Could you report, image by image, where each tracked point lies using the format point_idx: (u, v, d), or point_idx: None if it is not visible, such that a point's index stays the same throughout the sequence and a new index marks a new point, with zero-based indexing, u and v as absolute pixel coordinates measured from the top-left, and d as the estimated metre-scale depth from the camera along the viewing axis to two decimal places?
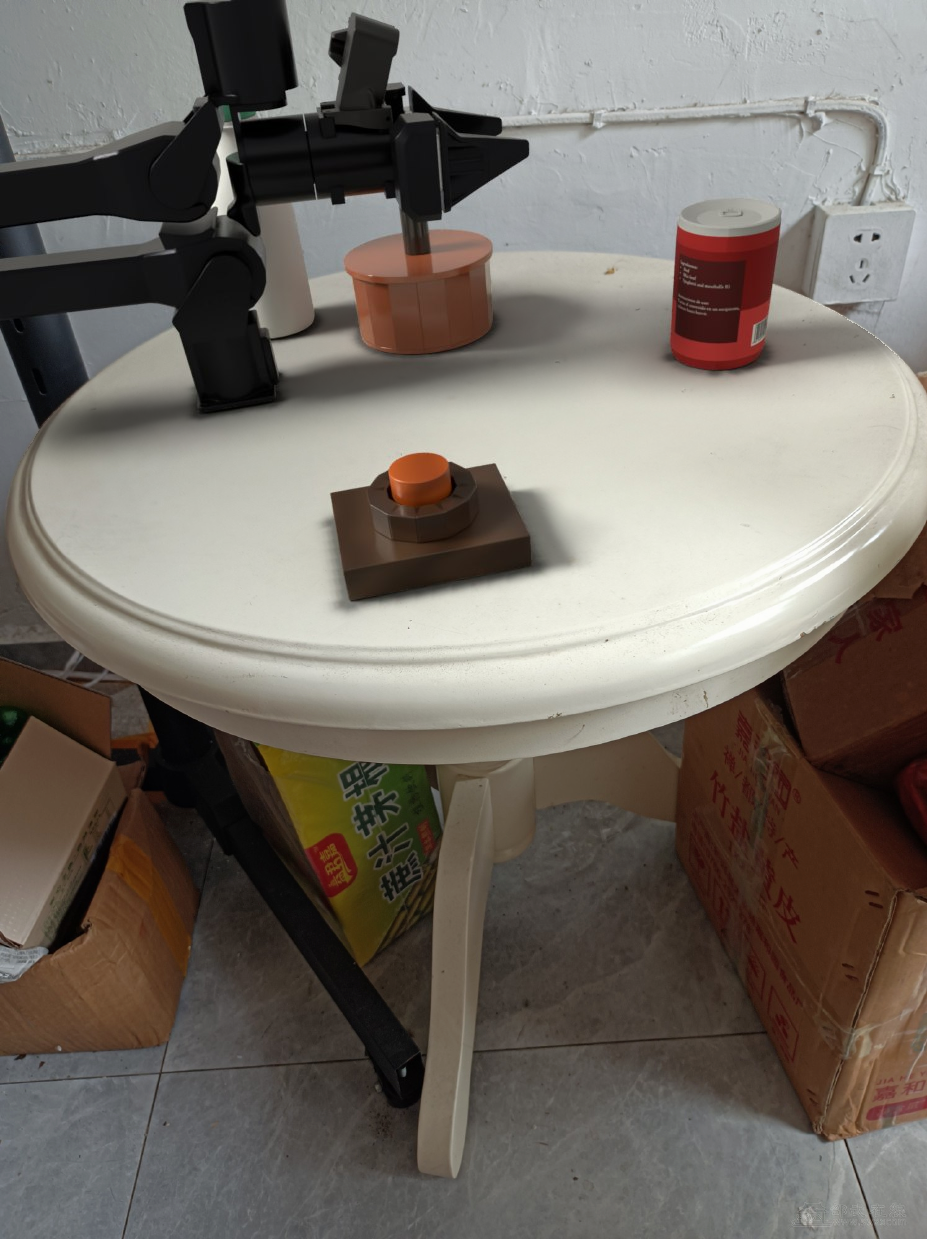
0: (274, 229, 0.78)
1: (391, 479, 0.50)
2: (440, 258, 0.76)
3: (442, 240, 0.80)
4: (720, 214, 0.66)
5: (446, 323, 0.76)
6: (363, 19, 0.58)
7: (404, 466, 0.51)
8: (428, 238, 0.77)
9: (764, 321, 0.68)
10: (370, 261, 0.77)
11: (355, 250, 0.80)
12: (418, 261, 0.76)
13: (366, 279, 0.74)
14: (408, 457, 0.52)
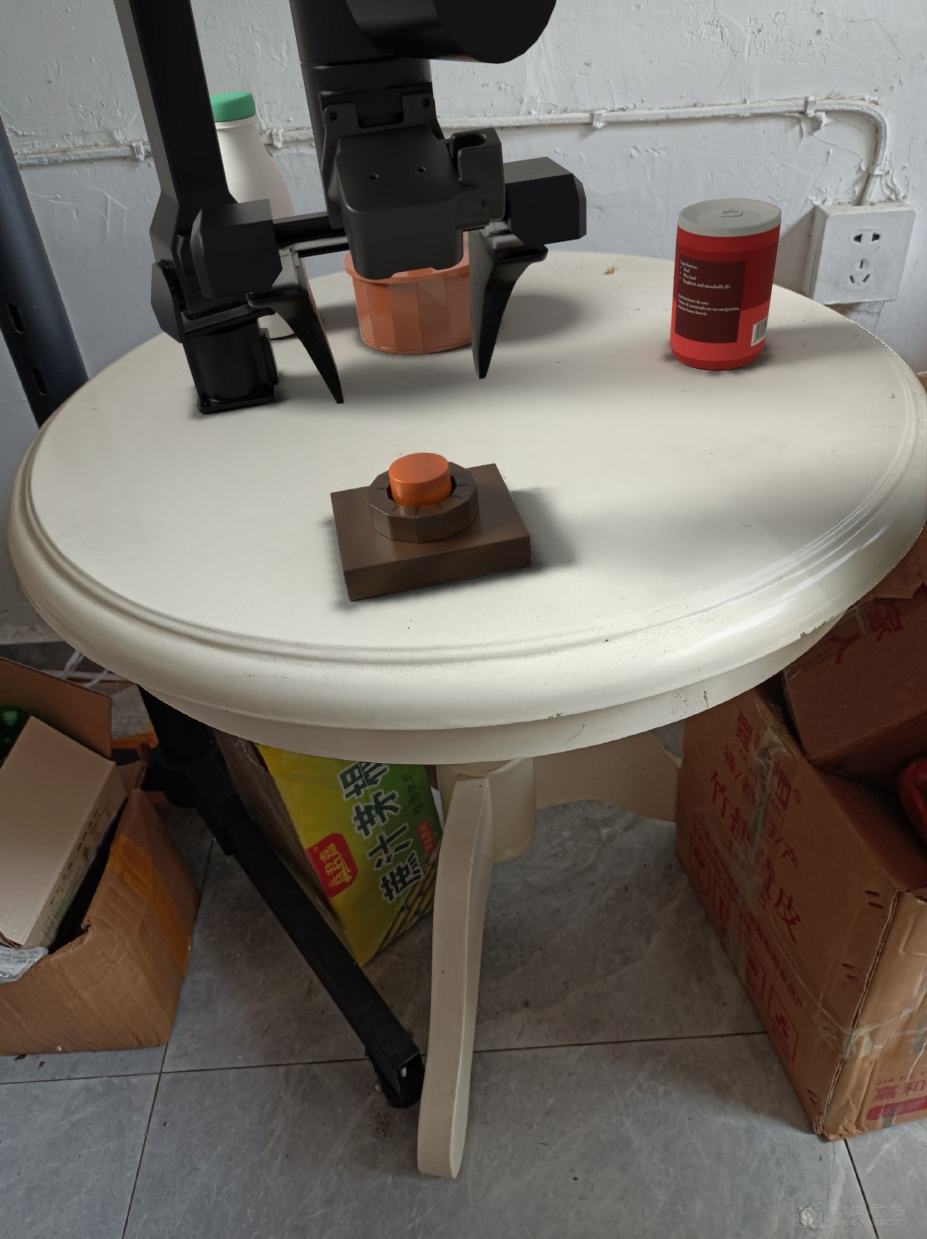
0: None
1: (391, 479, 0.50)
2: None
3: None
4: (720, 214, 0.66)
5: (446, 323, 0.76)
6: (366, 226, 0.34)
7: (404, 466, 0.51)
8: None
9: (764, 321, 0.68)
10: None
11: None
12: None
13: (366, 279, 0.74)
14: (408, 457, 0.52)
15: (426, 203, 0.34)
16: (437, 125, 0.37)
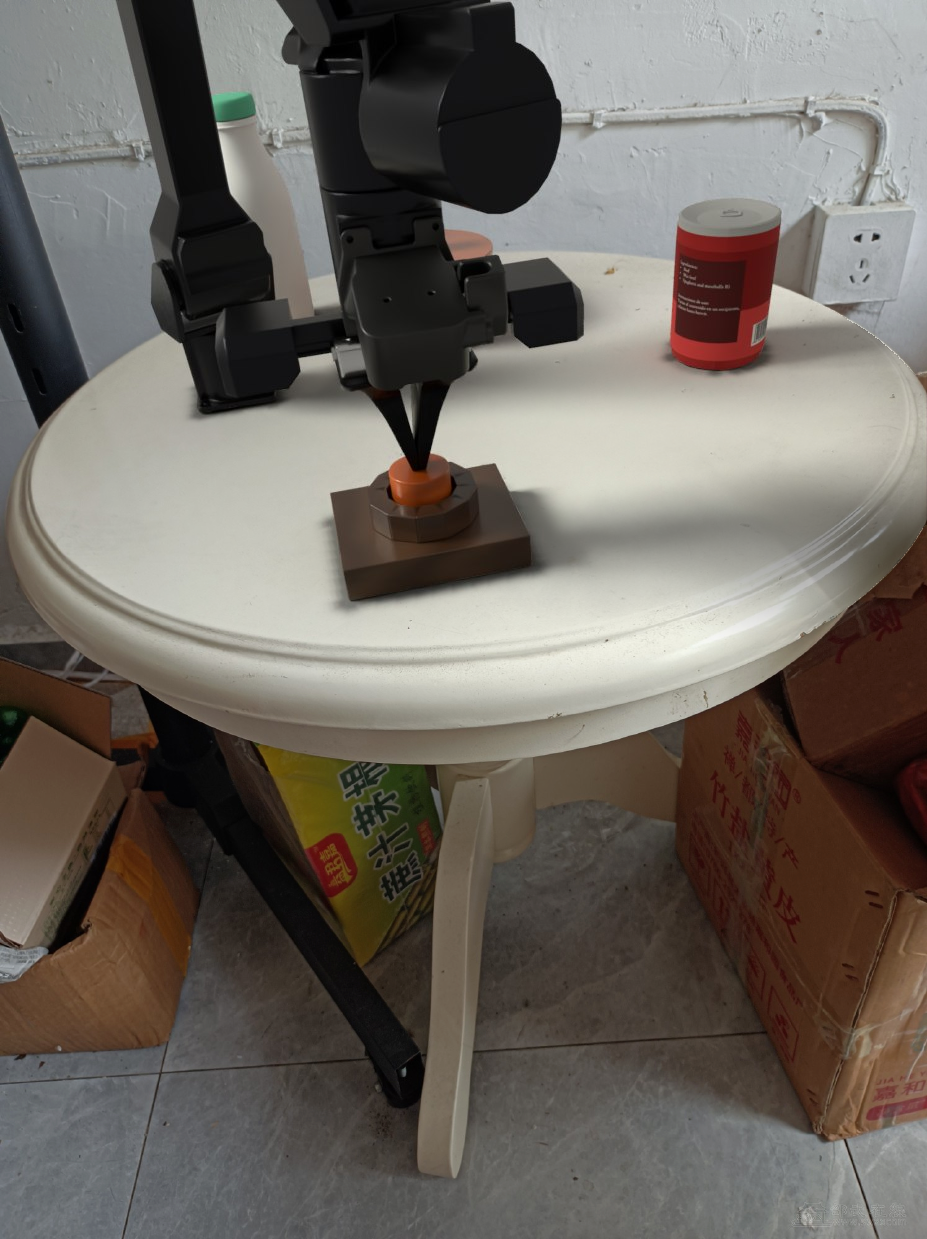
0: (274, 229, 0.78)
1: (391, 480, 0.50)
2: None
3: None
4: (720, 214, 0.66)
5: None
6: (380, 348, 0.37)
7: (404, 467, 0.51)
8: None
9: (764, 321, 0.68)
10: None
11: None
12: None
13: None
14: None
15: (435, 328, 0.37)
16: (445, 245, 0.40)
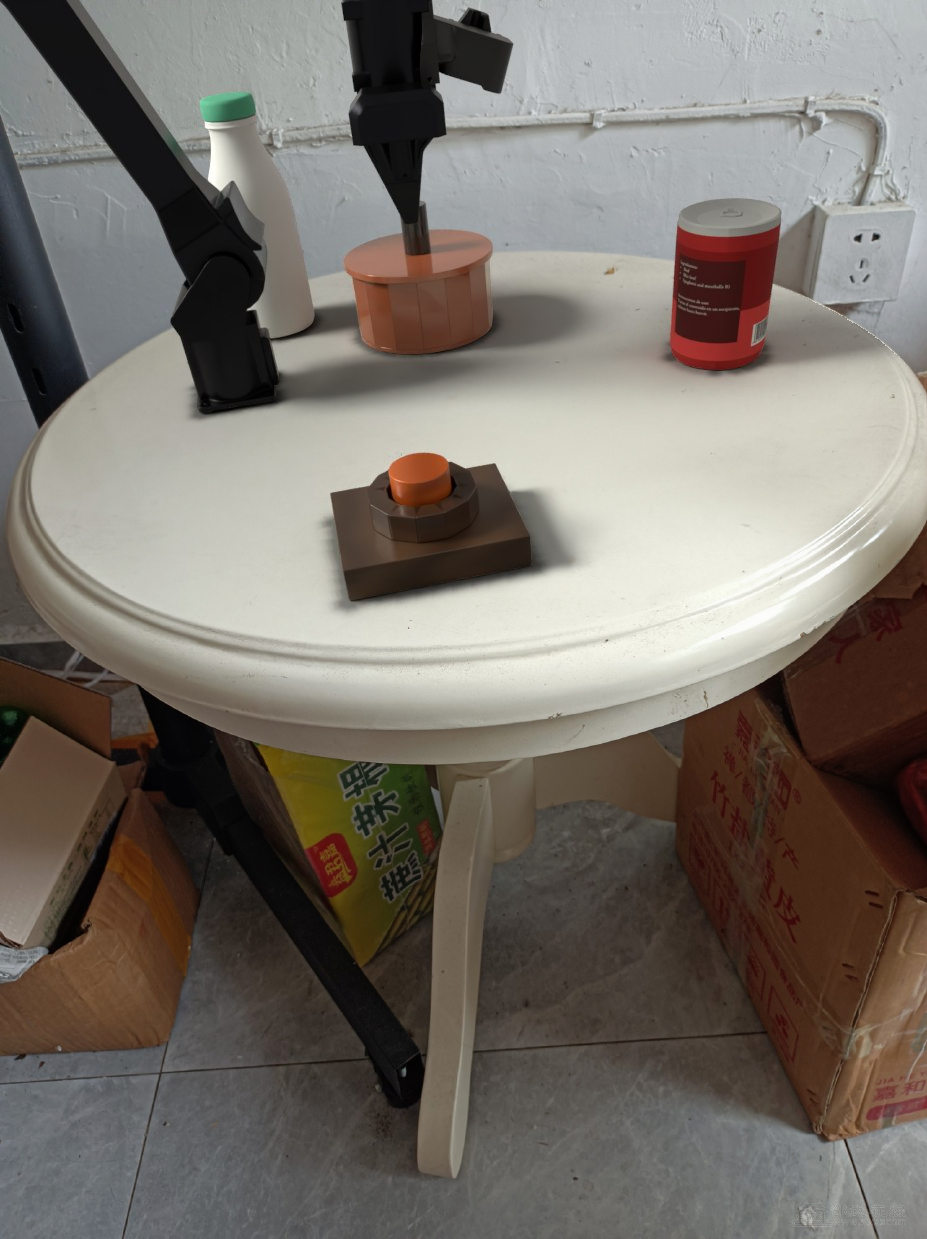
0: (274, 229, 0.78)
1: (391, 479, 0.50)
2: (440, 258, 0.76)
3: (442, 240, 0.80)
4: (720, 214, 0.66)
5: (446, 323, 0.76)
6: (510, 52, 0.60)
7: (404, 466, 0.51)
8: (428, 238, 0.77)
9: (764, 321, 0.68)
10: (370, 261, 0.77)
11: (355, 250, 0.80)
12: (418, 261, 0.76)
13: (366, 279, 0.74)
14: (408, 457, 0.52)
15: (508, 40, 0.61)
16: None
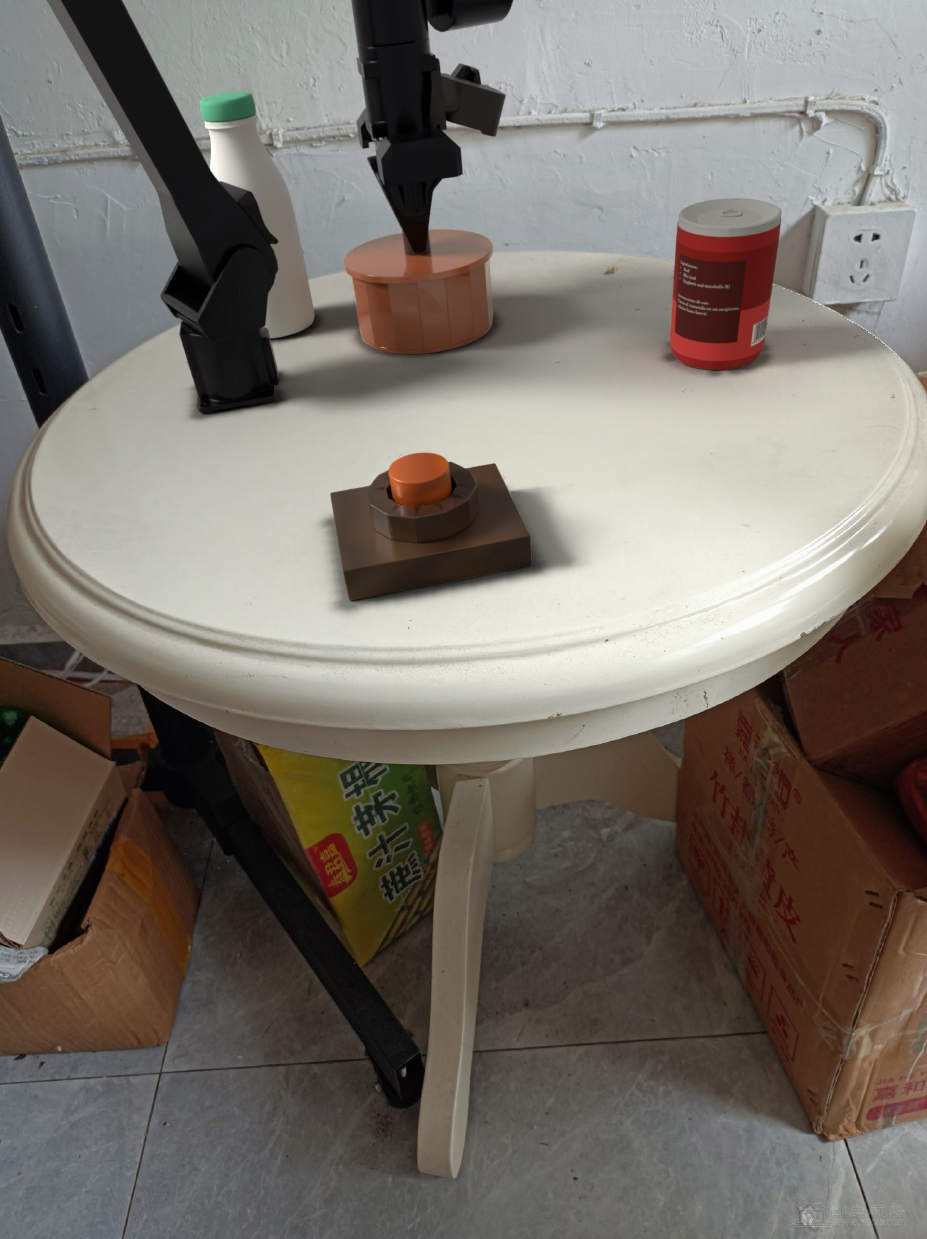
0: (274, 229, 0.78)
1: (391, 479, 0.50)
2: (440, 258, 0.76)
3: (442, 240, 0.80)
4: (720, 214, 0.66)
5: (446, 323, 0.76)
6: None
7: (404, 466, 0.51)
8: (428, 238, 0.77)
9: (764, 321, 0.68)
10: (370, 261, 0.77)
11: (355, 250, 0.80)
12: (418, 261, 0.76)
13: (366, 279, 0.74)
14: (408, 457, 0.52)
15: (497, 90, 0.72)
16: None
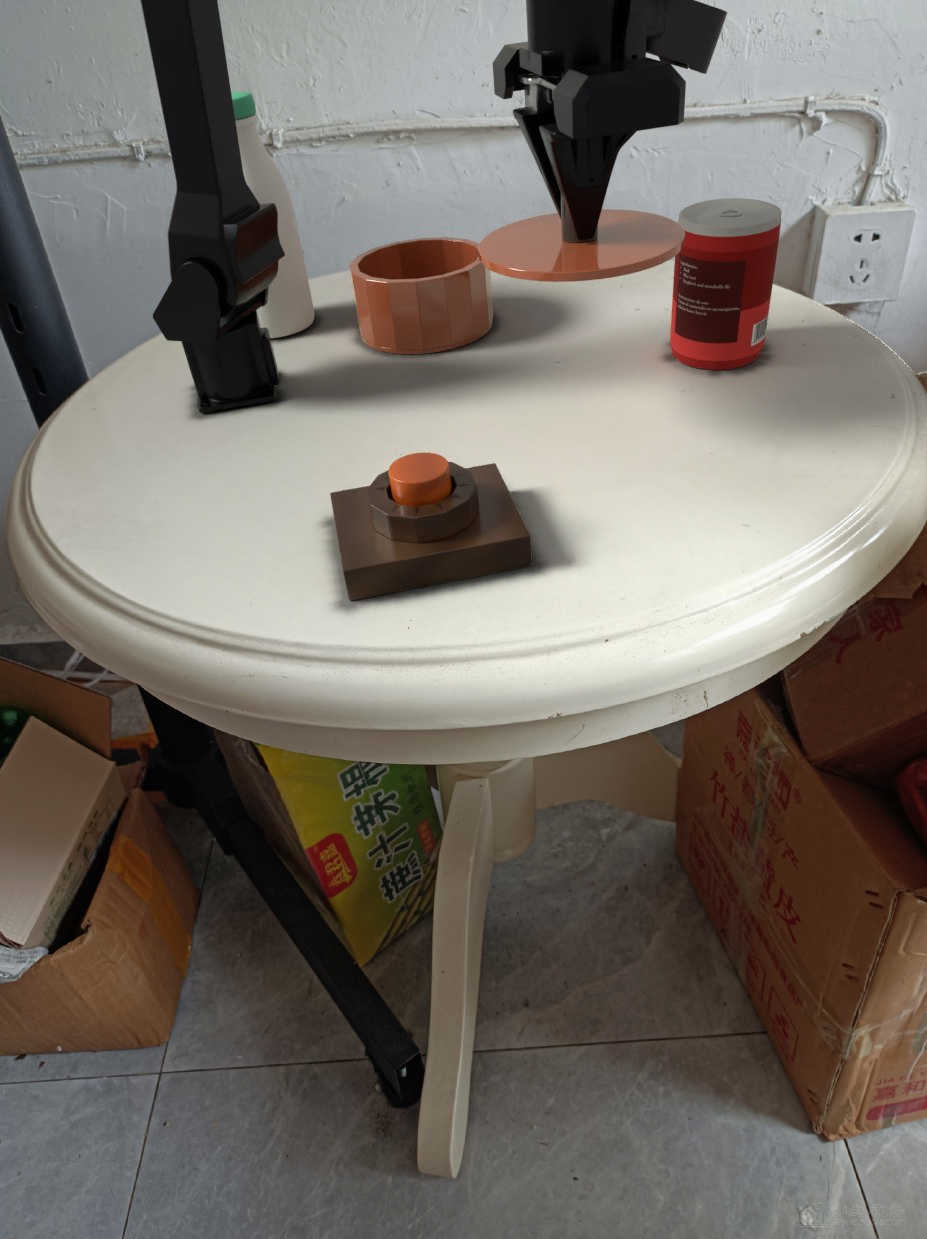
0: None
1: (391, 479, 0.50)
2: (618, 246, 0.55)
3: (607, 222, 0.59)
4: (720, 214, 0.66)
5: (446, 323, 0.76)
6: (723, 23, 0.50)
7: (404, 466, 0.51)
8: None
9: (764, 321, 0.68)
10: (518, 251, 0.56)
11: (490, 238, 0.59)
12: (587, 251, 0.55)
13: (520, 276, 0.54)
14: (408, 457, 0.52)
15: None
16: None
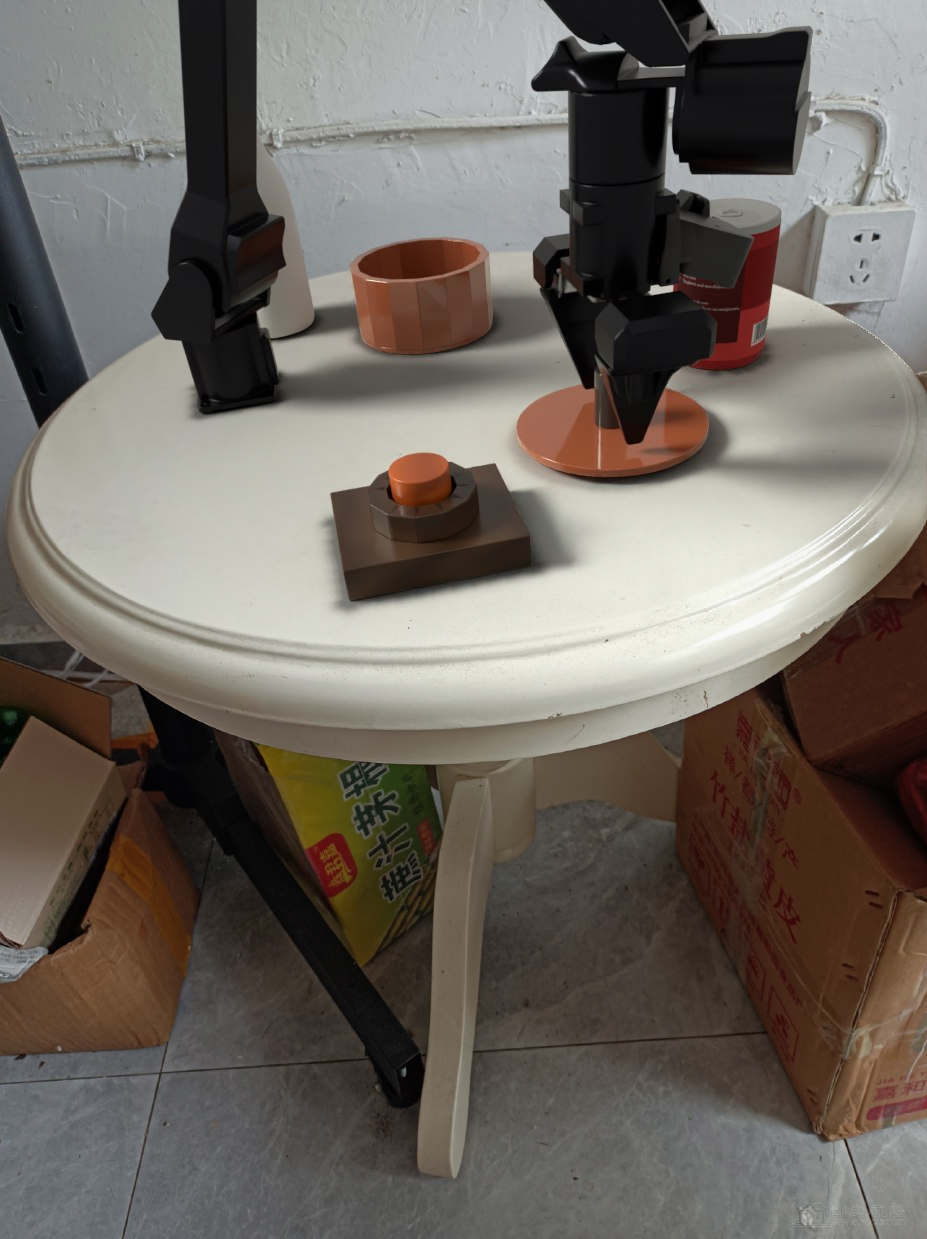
0: None
1: (391, 479, 0.50)
2: (647, 437, 0.60)
3: None
4: (720, 214, 0.66)
5: (446, 323, 0.76)
6: (750, 246, 0.54)
7: (404, 466, 0.51)
8: None
9: (764, 321, 0.68)
10: (554, 436, 0.61)
11: (526, 415, 0.64)
12: (618, 441, 0.59)
13: (557, 467, 0.58)
14: (408, 457, 0.52)
15: (735, 227, 0.56)
16: None
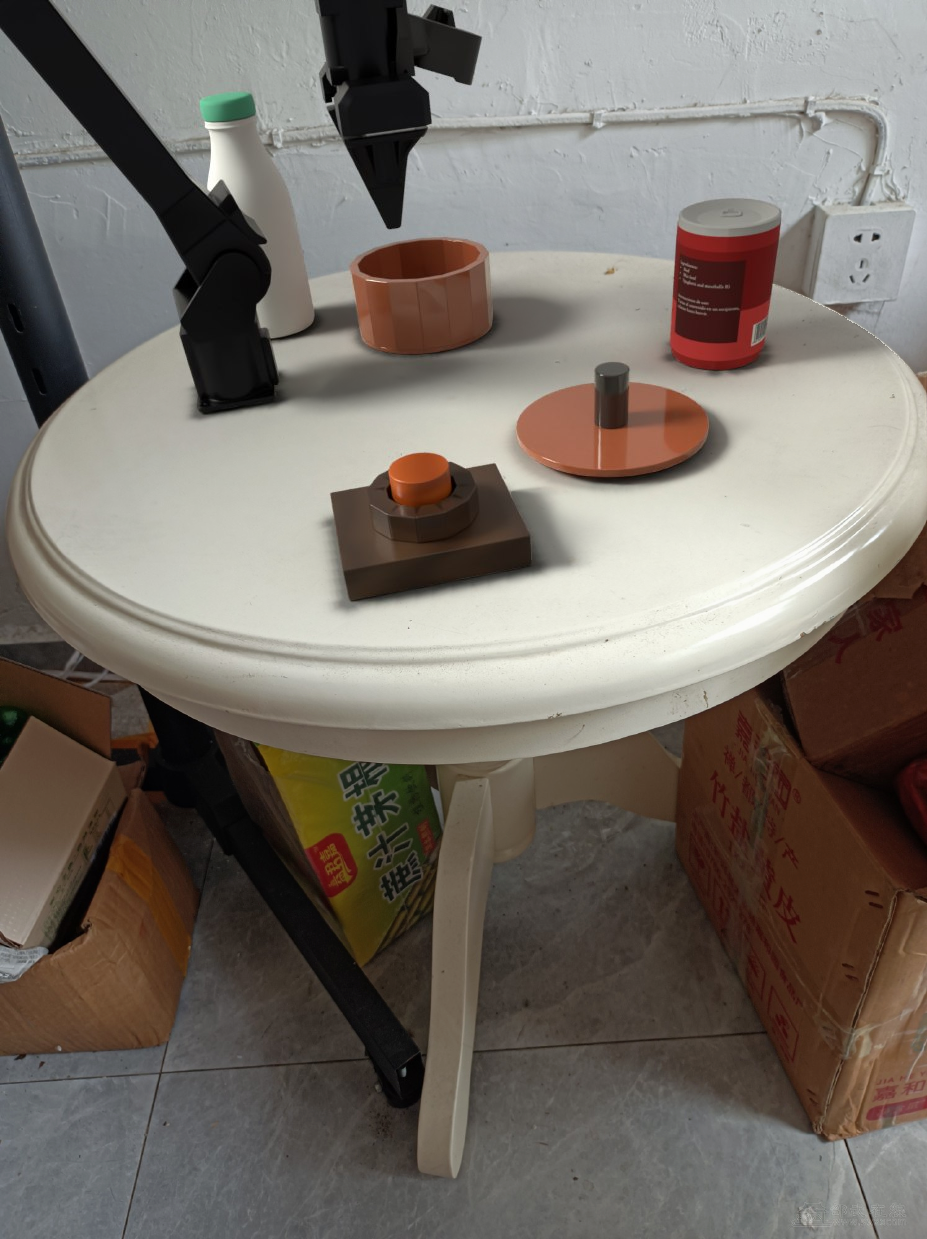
0: (274, 229, 0.78)
1: (391, 479, 0.50)
2: (647, 437, 0.60)
3: (636, 402, 0.64)
4: (720, 214, 0.66)
5: (446, 323, 0.76)
6: None
7: (404, 466, 0.51)
8: (627, 408, 0.61)
9: (764, 321, 0.68)
10: (554, 436, 0.61)
11: (526, 415, 0.64)
12: (618, 441, 0.59)
13: (557, 467, 0.58)
14: (408, 457, 0.52)
15: (473, 34, 0.64)
16: None
